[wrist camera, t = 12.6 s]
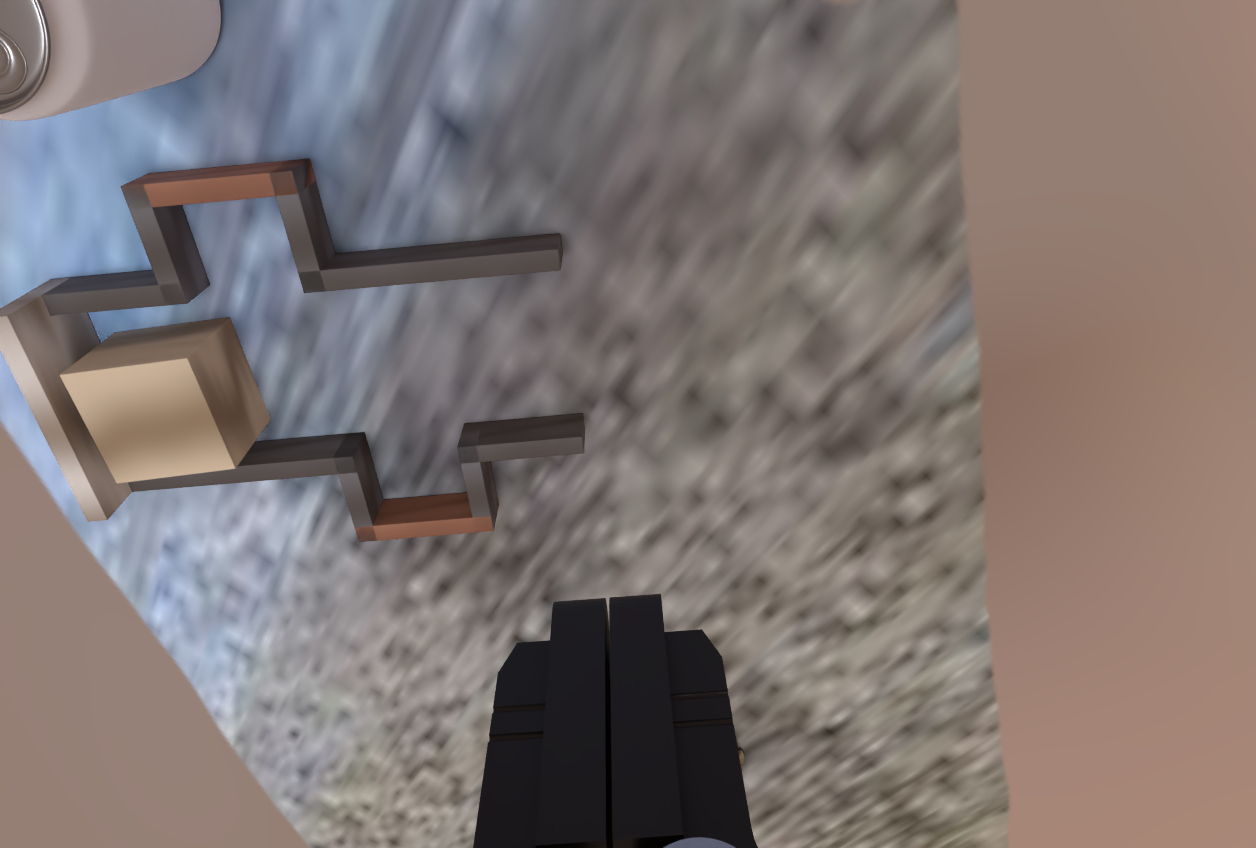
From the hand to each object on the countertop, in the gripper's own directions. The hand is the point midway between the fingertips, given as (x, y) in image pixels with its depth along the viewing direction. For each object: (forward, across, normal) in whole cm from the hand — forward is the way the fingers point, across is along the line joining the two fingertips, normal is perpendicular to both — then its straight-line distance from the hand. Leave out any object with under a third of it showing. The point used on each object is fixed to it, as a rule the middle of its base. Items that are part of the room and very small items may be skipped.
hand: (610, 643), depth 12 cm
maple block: (+31, +22, +9) cm, 39 cm away
